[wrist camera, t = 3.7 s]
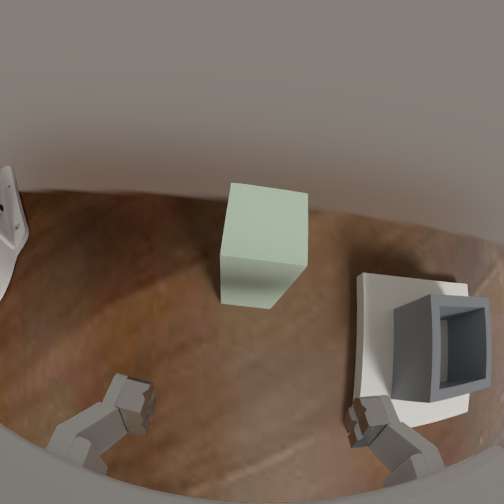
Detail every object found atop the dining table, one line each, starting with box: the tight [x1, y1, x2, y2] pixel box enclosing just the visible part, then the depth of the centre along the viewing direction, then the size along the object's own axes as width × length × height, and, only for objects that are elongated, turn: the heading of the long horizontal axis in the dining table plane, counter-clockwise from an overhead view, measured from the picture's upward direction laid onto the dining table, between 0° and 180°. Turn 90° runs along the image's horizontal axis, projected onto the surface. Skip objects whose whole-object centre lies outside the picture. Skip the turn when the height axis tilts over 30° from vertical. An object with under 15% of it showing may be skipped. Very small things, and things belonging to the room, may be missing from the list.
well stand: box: [349, 273, 492, 433], centre depth 21 cm, size 16×16×8 cm
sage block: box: [220, 183, 308, 309], centre depth 21 cm, size 4×4×12 cm
